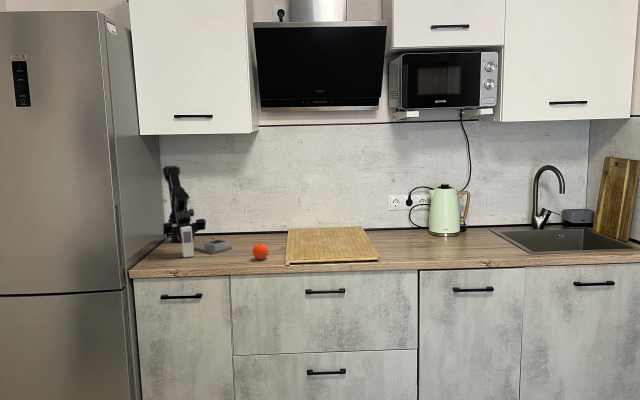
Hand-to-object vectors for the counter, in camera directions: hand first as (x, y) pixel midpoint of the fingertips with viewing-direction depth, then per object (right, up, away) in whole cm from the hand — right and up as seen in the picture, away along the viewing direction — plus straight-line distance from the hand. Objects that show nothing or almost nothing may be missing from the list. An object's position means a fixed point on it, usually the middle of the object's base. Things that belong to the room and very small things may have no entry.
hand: (187, 241), depth 219 cm
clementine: (+34, -7, -7) cm, 35 cm away
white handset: (0, -6, +2) cm, 7 cm away
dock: (+8, -5, +13) cm, 16 cm away
